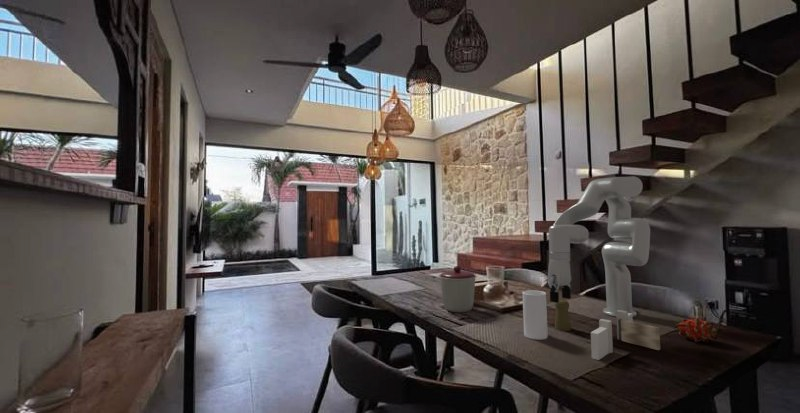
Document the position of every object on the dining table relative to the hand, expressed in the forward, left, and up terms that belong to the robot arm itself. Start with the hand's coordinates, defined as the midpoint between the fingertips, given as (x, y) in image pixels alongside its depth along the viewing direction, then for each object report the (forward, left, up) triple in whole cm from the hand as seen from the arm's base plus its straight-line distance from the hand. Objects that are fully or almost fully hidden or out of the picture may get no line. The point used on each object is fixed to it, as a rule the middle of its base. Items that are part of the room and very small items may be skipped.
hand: (560, 300), depth 135 cm
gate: (-1, +25, -11) cm, 28 cm away
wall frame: (+5, +20, -11) cm, 24 cm away
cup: (+14, -3, -11) cm, 18 cm away
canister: (+8, -46, -11) cm, 48 cm away
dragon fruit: (-21, +37, -11) cm, 44 cm away
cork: (-1, 0, -11) cm, 11 cm away
